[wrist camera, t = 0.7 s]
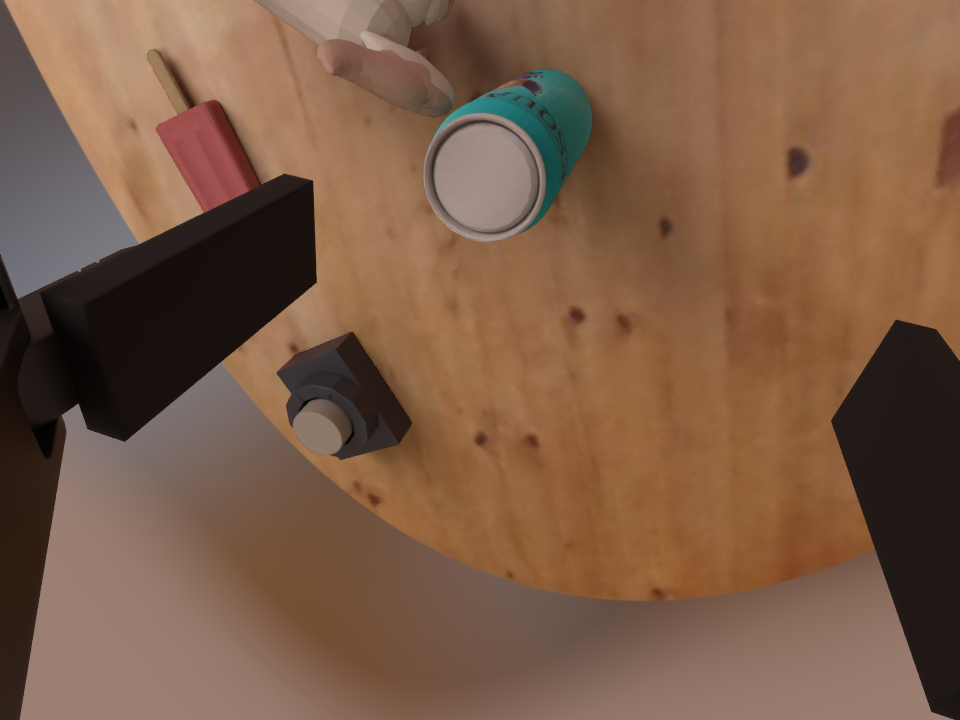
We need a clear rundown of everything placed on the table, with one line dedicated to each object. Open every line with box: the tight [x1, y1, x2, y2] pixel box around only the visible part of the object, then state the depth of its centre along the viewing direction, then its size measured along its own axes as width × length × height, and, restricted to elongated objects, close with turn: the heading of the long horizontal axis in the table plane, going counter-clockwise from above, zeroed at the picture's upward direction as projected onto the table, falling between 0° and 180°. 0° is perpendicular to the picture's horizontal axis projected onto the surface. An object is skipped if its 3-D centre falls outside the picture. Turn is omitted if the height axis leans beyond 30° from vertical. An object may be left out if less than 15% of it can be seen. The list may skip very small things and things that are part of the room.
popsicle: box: [147, 49, 260, 213], centre depth 43 cm, size 5×2×15 cm
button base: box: [277, 332, 412, 460], centre depth 50 cm, size 10×7×5 cm
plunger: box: [293, 398, 353, 455], centre depth 47 cm, size 4×4×2 cm
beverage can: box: [423, 69, 592, 242], centre depth 29 cm, size 6×6×15 cm
